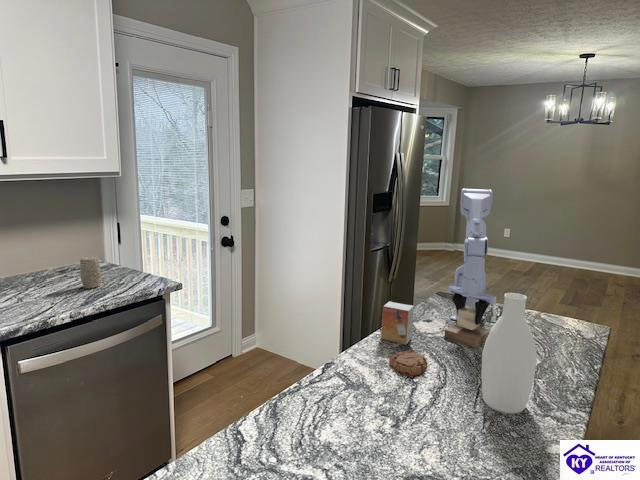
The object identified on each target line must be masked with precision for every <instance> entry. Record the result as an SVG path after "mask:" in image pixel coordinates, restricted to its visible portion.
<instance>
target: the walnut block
mask: <svg viewBox="0 0 640 480" xmlns="http://www.w3.org/2000/svg"><path fill="white" fill-rule="evenodd" d="M490 331H491V329H487V328H485V327H481V326H479V327H477V328H476V329H474V330H470V329H467V328H464V327H461V326H457V323H455V324H453V325H452V326H449V327H447V328H445V329H444V338H445V339H447V340H451V341H452V342H453V341H454V342H457V343H460V344H462V345H466V346H469V347H472V348H474V349H475V348H477V347H479V346H481V345H482V344H485V341H486V339H487V337H488V335H489V333H490Z"/></svg>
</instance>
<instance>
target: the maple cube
mask: <svg viewBox="0 0 640 480" xmlns="http://www.w3.org/2000/svg"><path fill="white" fill-rule="evenodd" d="M475 317H476V308H472V307H468V306H465V307H463V308H461V309H459V310H458V319H457V321H456V324H457V326H461V327H464V328H467V329H470V330H474V329H476V328H477V327H481V324H482V323H480V324H478V325H477V324H475Z"/></svg>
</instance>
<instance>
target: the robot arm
mask: <svg viewBox="0 0 640 480" xmlns="http://www.w3.org/2000/svg"><path fill="white" fill-rule="evenodd" d="M493 194H494V193H493V190H492V189H490V188H489V189H480V188H464V187H463V188H462V189H461V192H460V204H459V205H460V209H459V211H460V215H462V216H464V217H465V219H466V225H465V227H466V228H465V239H464V243H463V264H462V265H461V266H458V267H457V268H456V270H455V273H454V281H453V282H454V284H453V285H450V286H448V288H447V289H448V290H447V293H448V294H454V295H453V296H452V297H451V299H452V301H453V303H454V306H455V315H451V316H450V317H449V318H450V319H451V320H453V321H456V322H457V319H458V310H459V309H461V308H463V307H465V306H468V307H472V308H476V317H475V324H477V325H478V324H480V323H481V322H482V321H483V320H485V319H486V317H485V316H484V315H485V313H486V310H487V309H488V308H489V306H490V305H493V306H494V305H496V304H497V299H498V298H497V296H495V295H491V294H489V293H487V292H486V289H487V288H486V286H487V285H486V284H487V278H486V276H487V274H486V271H485V262H486V258H487V257H488V252H489V241H488V240H489V238H488V236H487V224H486V222H485V221H484V220H483V218H485V217H488V216H489V214H490V213H491V209H492V208H491V207H492V204H493ZM481 324H482V323H481Z"/></svg>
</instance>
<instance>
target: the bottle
mask: <svg viewBox="0 0 640 480" xmlns="http://www.w3.org/2000/svg"><path fill="white" fill-rule="evenodd" d="M503 298H504V301H503V305H502V306H503V307H502V313H501V316H499V318H498V319H497V321H496V322H495V323H494V324H493V326H492V327H491V328H490V330H491V331H490V333H489V335H488V337H487V339H486V341H485V342H484V345H483V350H482V353H481V372H480V373H481V374H480V375H481V393H482V400H483V402H484V403H485V404H486V405H487V406H488V408H491V409H492V410H494V411H496V412H499V413H501V414H509V415H512V414H513V415H515V414H520V413H522V412H523V411H524V410H525V409H526V408H527V406H528V401H529V399H530V395H531V393H532V388H533V383H534V377H535V371H536V367H537V349H536V344H535V340H534V335H533V333H532V331H531V329H530V327H529V325H528V323H527V320H526V302H527V299H528V297H527V295H525V294H522V293H517V292H506V293H504V294H503Z"/></svg>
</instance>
